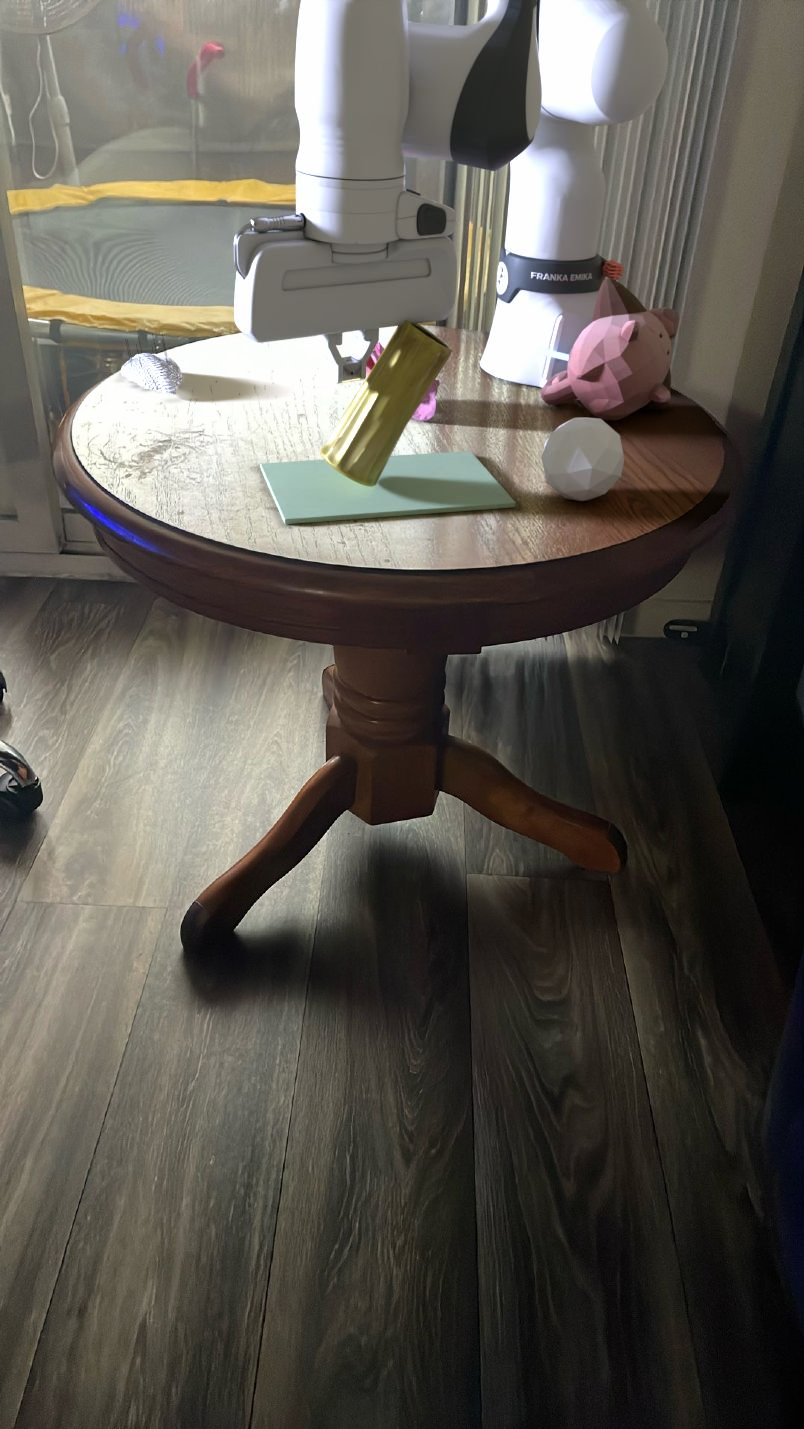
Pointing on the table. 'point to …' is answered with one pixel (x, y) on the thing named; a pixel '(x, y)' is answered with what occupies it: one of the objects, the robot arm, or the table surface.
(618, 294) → the toy
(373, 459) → the vase
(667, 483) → the table surface
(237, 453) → the table surface
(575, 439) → the geometric ball
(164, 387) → the pincushion
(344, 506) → the mat
